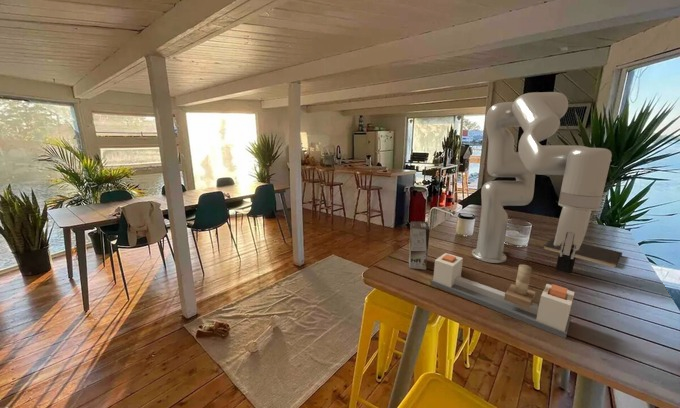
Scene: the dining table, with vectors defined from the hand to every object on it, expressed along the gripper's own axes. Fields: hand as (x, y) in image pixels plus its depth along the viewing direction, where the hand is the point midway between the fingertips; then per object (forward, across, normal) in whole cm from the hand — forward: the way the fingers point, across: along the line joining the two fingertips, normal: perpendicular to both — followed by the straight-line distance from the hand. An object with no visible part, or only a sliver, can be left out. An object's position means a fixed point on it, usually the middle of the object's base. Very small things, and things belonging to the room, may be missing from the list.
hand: (563, 270), depth 70 cm
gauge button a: (+10, 0, -29) cm, 31 cm away
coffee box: (+16, -6, -44) cm, 47 cm away
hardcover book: (+16, -64, +1) cm, 66 cm away
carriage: (+12, 0, -8) cm, 15 cm away
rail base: (+16, 0, -15) cm, 22 cm away
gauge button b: (+9, 0, 0) cm, 9 cm away
